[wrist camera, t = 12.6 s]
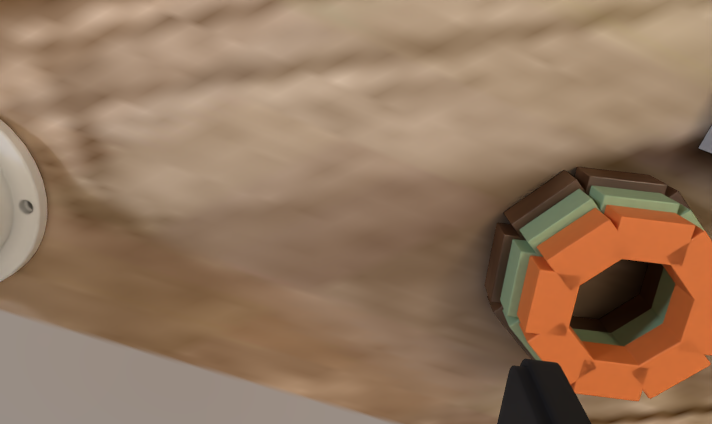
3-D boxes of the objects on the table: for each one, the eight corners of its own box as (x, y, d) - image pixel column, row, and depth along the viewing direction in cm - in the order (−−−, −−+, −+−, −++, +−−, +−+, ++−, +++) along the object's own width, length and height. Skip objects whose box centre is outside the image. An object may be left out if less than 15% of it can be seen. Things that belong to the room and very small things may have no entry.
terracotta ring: (504, 365, 32) (512, 386, 30) (542, 196, 29) (554, 208, 27) (681, 387, 32) (700, 409, 30) (739, 220, 29) (764, 233, 27)
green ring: (488, 353, 34) (494, 372, 32) (525, 177, 31) (534, 186, 29) (671, 375, 34) (688, 395, 32) (728, 200, 31) (751, 211, 29)
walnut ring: (473, 340, 37) (478, 359, 35) (509, 158, 33) (517, 167, 31) (660, 362, 36) (676, 383, 34) (717, 182, 33) (740, 193, 31)
